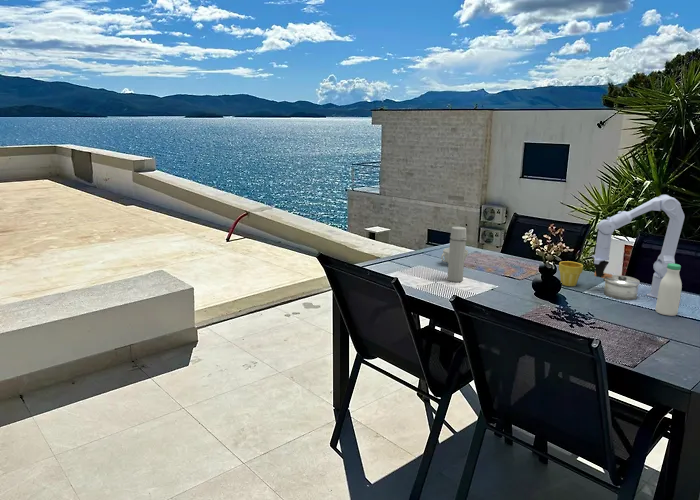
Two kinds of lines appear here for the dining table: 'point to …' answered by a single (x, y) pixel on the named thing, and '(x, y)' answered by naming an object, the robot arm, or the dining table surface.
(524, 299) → the dining table surface
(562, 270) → the plant pot
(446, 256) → the teacup
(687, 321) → the dining table surface
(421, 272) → the dining table surface
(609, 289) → the cooker pot
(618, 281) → the cooker lid
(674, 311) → the milk bottle
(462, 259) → the water bottle
